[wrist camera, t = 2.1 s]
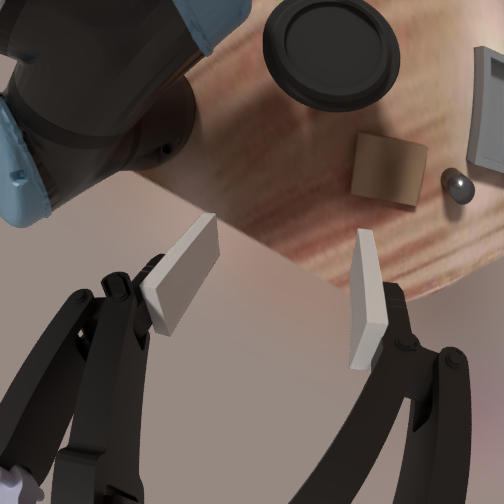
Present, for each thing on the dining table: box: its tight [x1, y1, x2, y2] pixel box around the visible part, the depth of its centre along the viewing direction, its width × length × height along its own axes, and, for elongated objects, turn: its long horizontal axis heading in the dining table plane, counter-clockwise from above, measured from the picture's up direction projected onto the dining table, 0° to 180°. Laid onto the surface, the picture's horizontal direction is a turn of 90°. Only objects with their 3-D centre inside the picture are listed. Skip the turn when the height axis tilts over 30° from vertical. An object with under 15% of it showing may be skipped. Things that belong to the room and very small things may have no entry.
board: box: [350, 132, 428, 206], centre depth 29 cm, size 8×7×2 cm
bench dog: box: [441, 168, 475, 205], centre depth 26 cm, size 3×3×4 cm
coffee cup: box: [263, 0, 400, 112], centre depth 19 cm, size 9×9×15 cm
